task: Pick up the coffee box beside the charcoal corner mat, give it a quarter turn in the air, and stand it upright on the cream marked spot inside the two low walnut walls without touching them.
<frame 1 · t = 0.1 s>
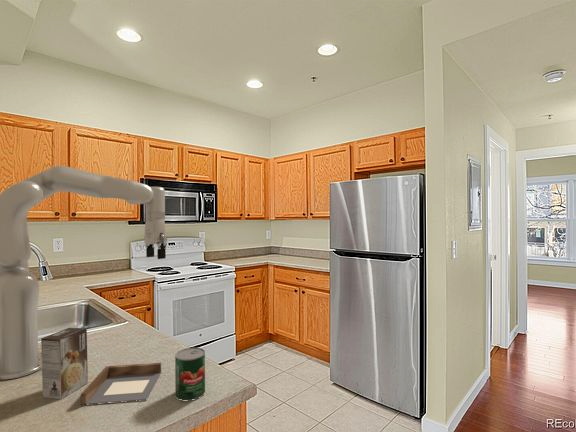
hand: (155, 257, 139), 31 cm above the counter, tool pointing down, fingers open, 9 cm apart
canned tomato: (190, 394, 91), on the counter
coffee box: (65, 390, 93), on the counter
corner walls: (124, 387, 94), resting on corner mat
corner mat: (124, 387, 94), on the counter
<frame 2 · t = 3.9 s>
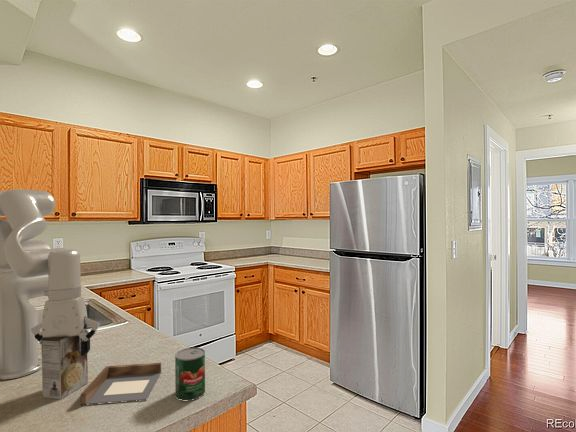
hand: (66, 355, 93), 10 cm above the counter, tool pointing down, fingers open, 9 cm apart
nothing on the counter moved.
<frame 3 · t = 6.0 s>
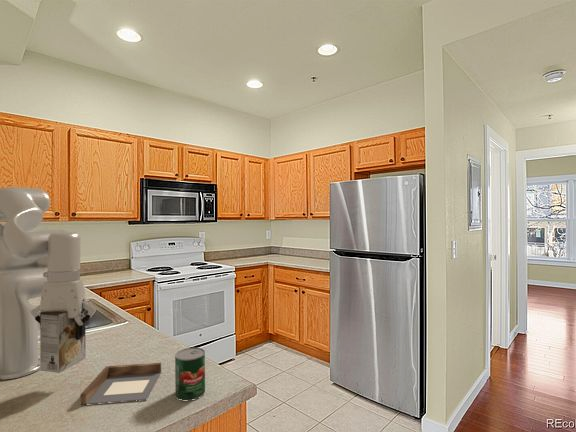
hand: (63, 338, 94), 14 cm above the counter, tool pointing down, fingers closed on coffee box, 7 cm apart
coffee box: (63, 365, 94), point 7 cm above the counter, touching gripper
everything else where it was.
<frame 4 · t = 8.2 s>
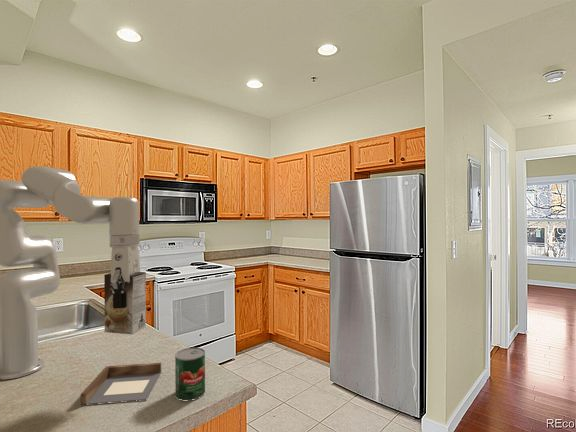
hand: (125, 303, 94), 24 cm above the counter, tool pointing down, fingers closed on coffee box, 7 cm apart
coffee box: (125, 330, 94), point 16 cm above the counter, touching gripper
everything else where it was.
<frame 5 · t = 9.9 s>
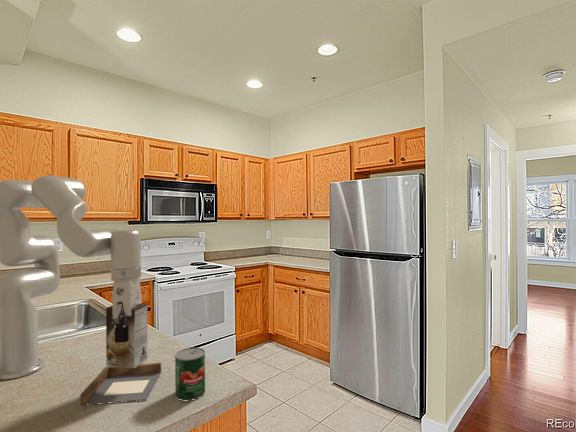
hand: (127, 335, 94), 15 cm above the counter, tool pointing down, fingers closed on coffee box, 7 cm apart
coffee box: (127, 363, 94), point 7 cm above the counter, touching gripper
everything else where it was.
when the fingers open (9 cm above the counter, at t = 11.6 s): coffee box drops 1 cm, resting on corner mat.
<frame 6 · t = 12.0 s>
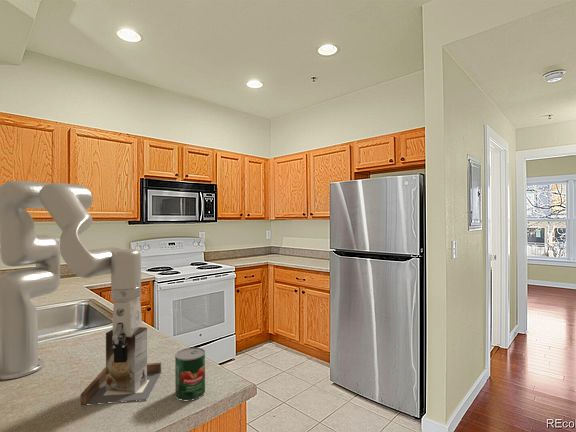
hand: (127, 354, 94), 10 cm above the counter, tool pointing down, fingers open, 9 cm apart
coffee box: (127, 387, 94), resting on corner mat
everything else where it was.
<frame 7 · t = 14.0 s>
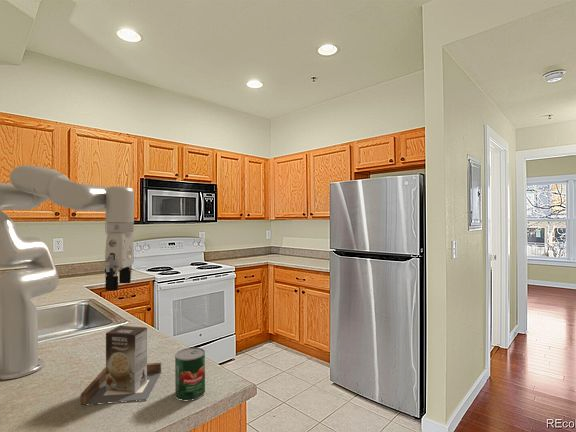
hand: (118, 286, 98), 28 cm above the counter, tool pointing down, fingers open, 9 cm apart
nothing on the counter moved.
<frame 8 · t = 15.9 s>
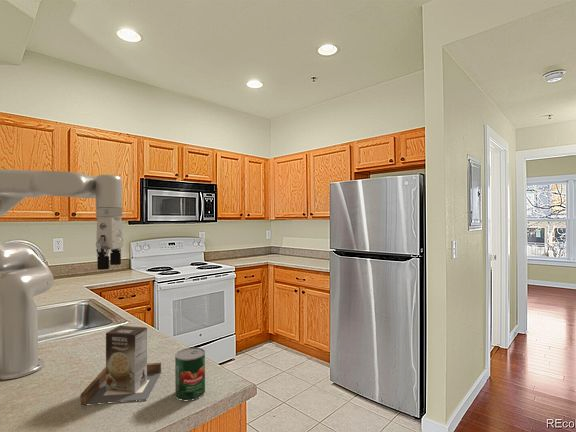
hand: (109, 266, 107), 32 cm above the counter, tool pointing down, fingers open, 9 cm apart
nothing on the counter moved.
at the end: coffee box inside the target area on the corner mat (1.0 cm from its centre), point 0.3 cm above the corner mat's base; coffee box tilted 0°; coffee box touching corner mat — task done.
